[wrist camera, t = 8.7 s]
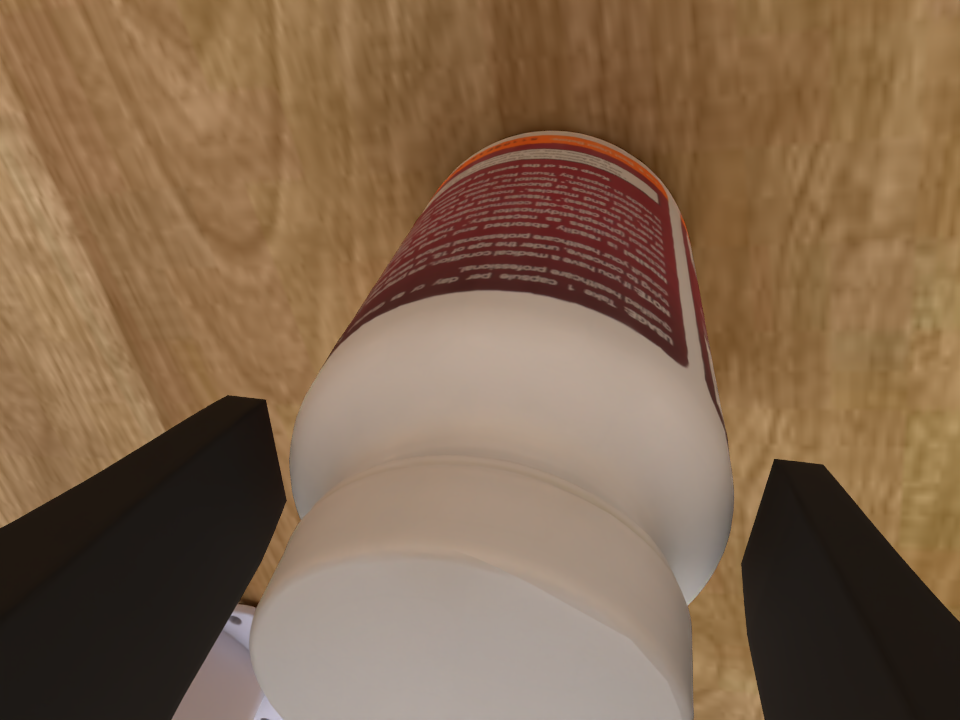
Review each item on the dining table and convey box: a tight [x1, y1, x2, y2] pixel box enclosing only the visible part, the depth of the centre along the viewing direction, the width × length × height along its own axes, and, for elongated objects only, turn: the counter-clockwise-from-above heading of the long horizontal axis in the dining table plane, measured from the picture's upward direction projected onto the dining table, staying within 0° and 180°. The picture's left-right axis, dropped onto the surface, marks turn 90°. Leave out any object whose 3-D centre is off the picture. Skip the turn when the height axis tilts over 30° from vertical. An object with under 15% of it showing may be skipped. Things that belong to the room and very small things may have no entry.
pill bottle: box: [249, 131, 734, 720], centre depth 12 cm, size 6×6×11 cm
